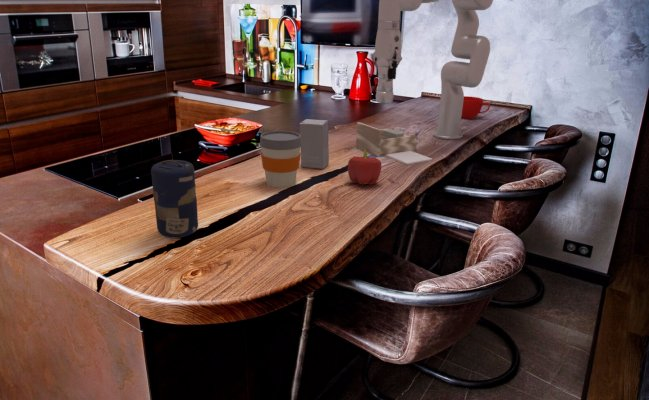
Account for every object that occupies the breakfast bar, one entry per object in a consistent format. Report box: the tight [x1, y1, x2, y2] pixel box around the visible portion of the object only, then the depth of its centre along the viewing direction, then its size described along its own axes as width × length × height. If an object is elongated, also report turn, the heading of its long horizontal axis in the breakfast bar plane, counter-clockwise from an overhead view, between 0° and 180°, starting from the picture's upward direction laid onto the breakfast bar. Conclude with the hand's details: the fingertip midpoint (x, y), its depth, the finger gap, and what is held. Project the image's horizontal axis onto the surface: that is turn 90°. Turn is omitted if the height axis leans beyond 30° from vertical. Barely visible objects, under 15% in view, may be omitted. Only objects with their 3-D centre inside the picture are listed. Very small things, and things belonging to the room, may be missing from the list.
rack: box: [355, 121, 418, 158], centre depth 191 cm, size 19×14×10 cm
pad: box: [385, 151, 433, 166], centre depth 182 cm, size 12×12×1 cm
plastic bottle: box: [375, 57, 395, 105], centre depth 181 cm, size 6×7×20 cm
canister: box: [150, 159, 199, 239], centre depth 115 cm, size 10×10×18 cm
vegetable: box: [347, 149, 382, 185], centre depth 153 cm, size 11×10×10 cm
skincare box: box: [299, 118, 330, 170], centre depth 167 cm, size 8×7×16 cm
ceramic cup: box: [461, 95, 491, 120], centre depth 250 cm, size 13×17×10 cm
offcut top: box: [383, 128, 405, 138], centre depth 192 cm, size 4×8×2 cm, turn 33°
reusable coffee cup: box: [259, 130, 302, 189], centre depth 150 cm, size 13×13×15 cm
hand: (385, 77), depth 182 cm, fingers closed on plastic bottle, 6 cm apart
